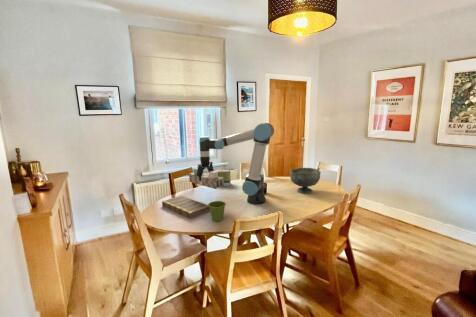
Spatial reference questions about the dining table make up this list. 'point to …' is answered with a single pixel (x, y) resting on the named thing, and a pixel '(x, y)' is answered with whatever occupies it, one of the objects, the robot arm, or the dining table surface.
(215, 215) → the plant pot
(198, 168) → the robot arm
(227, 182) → the tea box
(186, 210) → the grey flat block
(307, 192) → the decorative bowl
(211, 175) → the cargo crate
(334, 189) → the dining table surface
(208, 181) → the grey lumpy bar
